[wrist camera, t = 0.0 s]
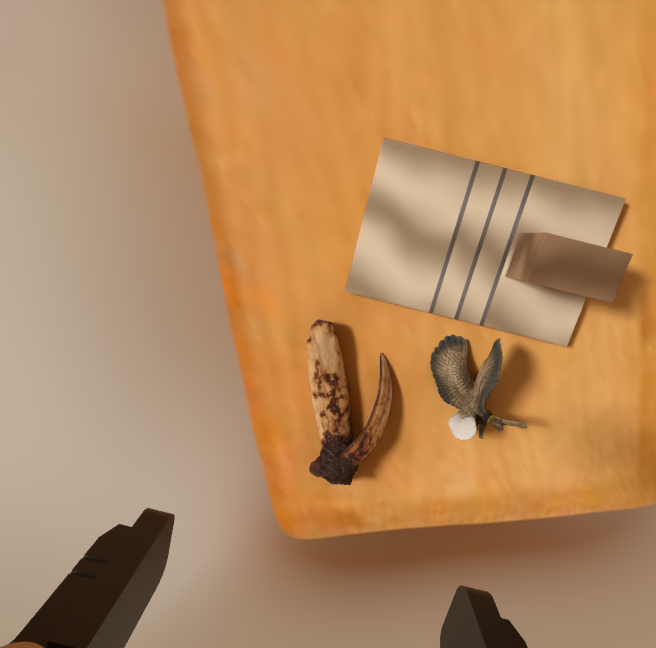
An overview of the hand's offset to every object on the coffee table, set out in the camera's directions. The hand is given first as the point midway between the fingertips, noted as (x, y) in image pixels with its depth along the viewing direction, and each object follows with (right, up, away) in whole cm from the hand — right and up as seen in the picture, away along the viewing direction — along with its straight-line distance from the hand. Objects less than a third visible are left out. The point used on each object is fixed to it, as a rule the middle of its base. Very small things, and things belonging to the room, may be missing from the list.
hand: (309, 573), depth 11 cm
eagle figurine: (+15, +1, +29) cm, 33 cm away
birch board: (+15, +14, +26) cm, 33 cm away
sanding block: (+21, +12, +25) cm, 35 cm away
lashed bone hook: (+3, -1, +31) cm, 31 cm away
